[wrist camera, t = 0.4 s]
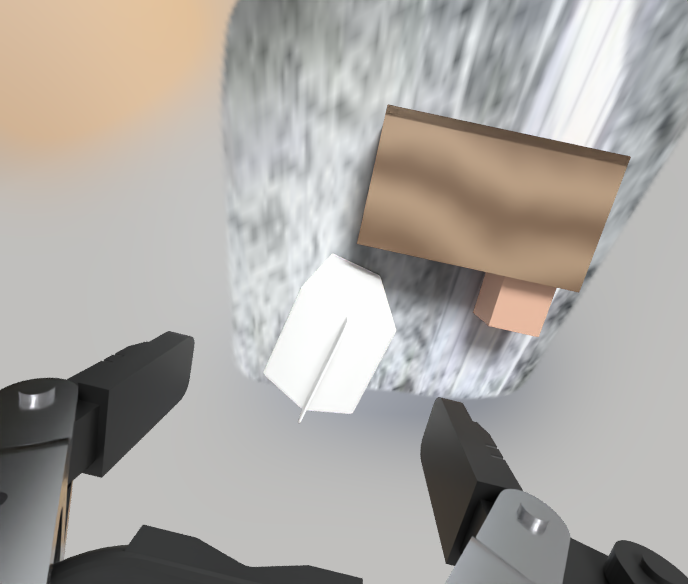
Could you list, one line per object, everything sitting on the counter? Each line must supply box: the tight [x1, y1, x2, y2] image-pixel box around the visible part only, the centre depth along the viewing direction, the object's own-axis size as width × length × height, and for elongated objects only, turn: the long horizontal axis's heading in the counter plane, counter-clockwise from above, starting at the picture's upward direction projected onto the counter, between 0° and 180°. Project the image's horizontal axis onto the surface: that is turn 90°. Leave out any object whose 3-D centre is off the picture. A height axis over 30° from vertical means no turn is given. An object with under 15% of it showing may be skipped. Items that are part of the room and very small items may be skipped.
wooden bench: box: [357, 105, 631, 292], centre depth 32 cm, size 12×21×6 cm, turn 78°
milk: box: [264, 253, 396, 423], centre depth 27 cm, size 6×6×22 cm
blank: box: [473, 272, 557, 337], centre depth 34 cm, size 10×5×5 cm, turn 168°
